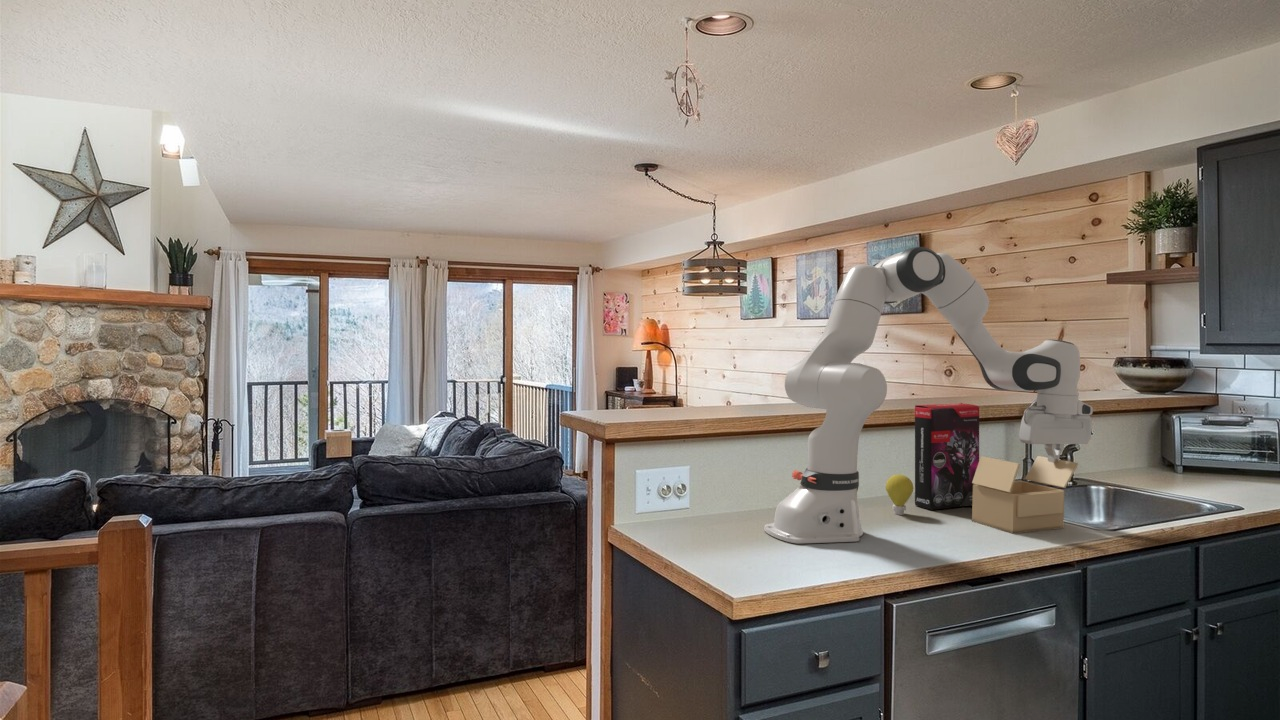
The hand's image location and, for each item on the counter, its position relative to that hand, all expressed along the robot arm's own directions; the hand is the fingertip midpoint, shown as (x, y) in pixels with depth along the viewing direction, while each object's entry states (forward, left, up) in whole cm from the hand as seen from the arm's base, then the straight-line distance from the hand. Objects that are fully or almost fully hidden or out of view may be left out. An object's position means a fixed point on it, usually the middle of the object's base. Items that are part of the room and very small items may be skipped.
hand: (1053, 462), depth 179 cm
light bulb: (-31, +18, -15) cm, 39 cm away
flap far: (-3, 0, -5) cm, 6 cm away
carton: (-11, 0, -15) cm, 19 cm away
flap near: (-20, 0, -5) cm, 21 cm away
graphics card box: (-13, +21, -15) cm, 29 cm away
